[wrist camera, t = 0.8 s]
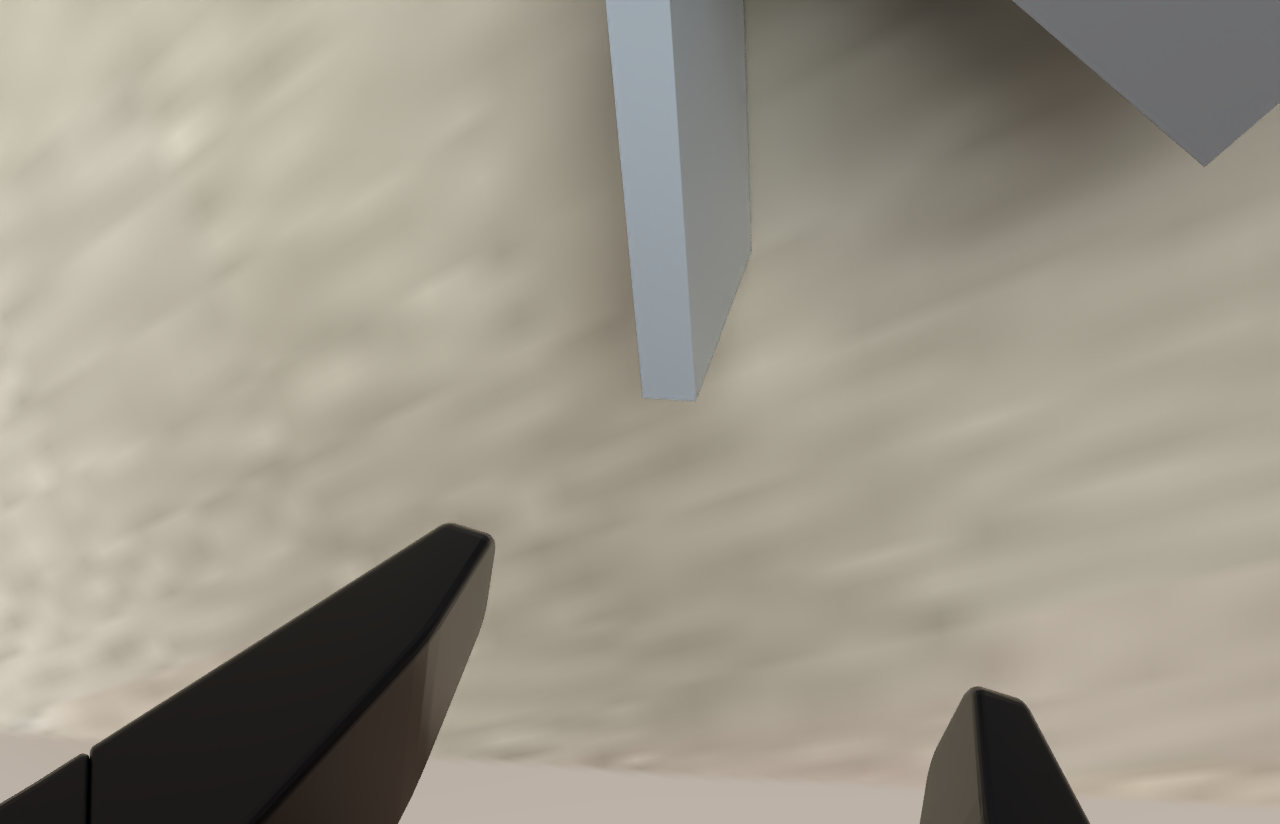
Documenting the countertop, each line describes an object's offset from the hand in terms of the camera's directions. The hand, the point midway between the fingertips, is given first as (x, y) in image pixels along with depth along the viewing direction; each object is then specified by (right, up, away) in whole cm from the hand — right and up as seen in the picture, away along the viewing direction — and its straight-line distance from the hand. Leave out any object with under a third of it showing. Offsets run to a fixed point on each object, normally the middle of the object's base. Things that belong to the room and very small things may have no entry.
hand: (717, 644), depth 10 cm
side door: (+1, +8, +10) cm, 13 cm away
